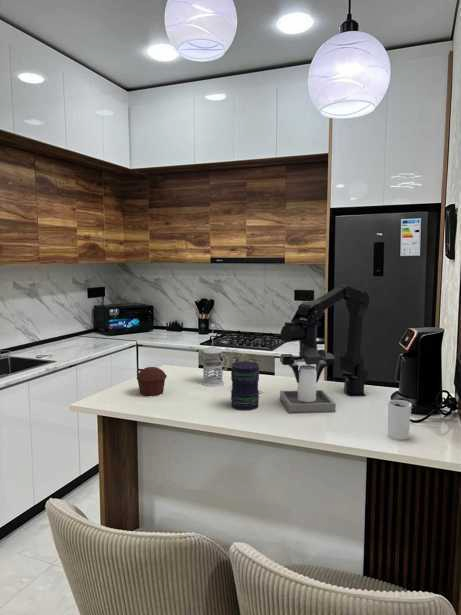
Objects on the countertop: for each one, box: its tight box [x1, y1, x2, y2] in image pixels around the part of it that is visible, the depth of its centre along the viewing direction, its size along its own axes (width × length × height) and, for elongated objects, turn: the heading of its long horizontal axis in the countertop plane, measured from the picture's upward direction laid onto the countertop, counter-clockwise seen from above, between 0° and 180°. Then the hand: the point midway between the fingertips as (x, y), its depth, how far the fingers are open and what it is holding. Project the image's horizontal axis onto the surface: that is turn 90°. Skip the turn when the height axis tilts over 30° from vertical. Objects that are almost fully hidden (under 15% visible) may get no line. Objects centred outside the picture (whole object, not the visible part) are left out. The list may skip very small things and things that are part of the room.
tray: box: [279, 389, 337, 414], centre depth 165 cm, size 16×16×3 cm
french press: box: [200, 323, 230, 388], centre depth 192 cm, size 10×12×25 cm
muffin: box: [136, 366, 168, 397], centre depth 179 cm, size 12×11×10 cm
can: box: [297, 364, 317, 403], centre depth 164 cm, size 6×6×12 cm
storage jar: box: [230, 361, 260, 411], centre depth 163 cm, size 10×10×15 cm
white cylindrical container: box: [387, 399, 412, 441], centre depth 137 cm, size 7×7×10 cm
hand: (307, 382), depth 164 cm, fingers closed on can, 6 cm apart
